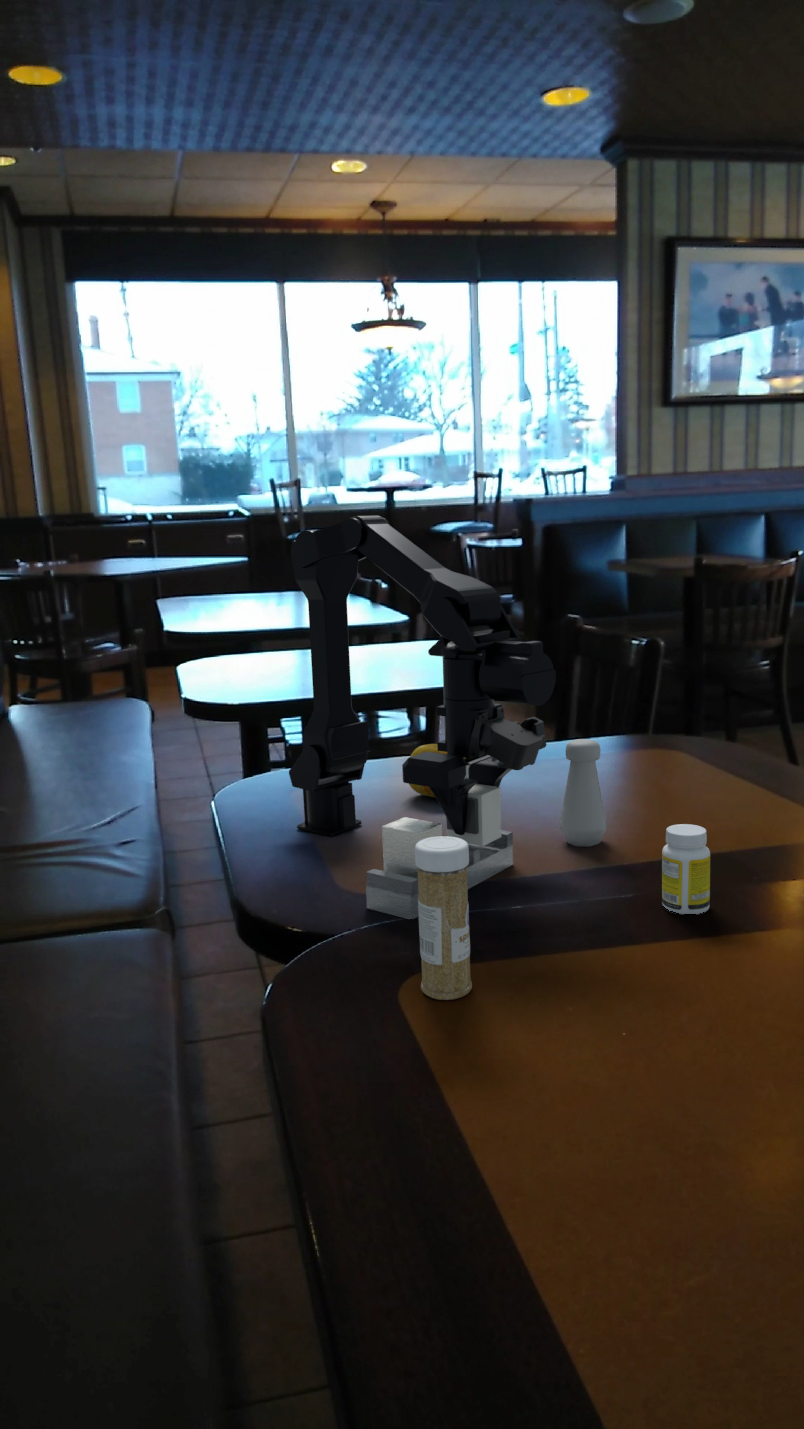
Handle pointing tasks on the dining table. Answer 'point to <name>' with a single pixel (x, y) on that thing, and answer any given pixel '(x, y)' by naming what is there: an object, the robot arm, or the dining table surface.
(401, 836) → the rail
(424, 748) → the fruit
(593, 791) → the salt shaker
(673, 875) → the supplement bottle
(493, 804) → the matte gray box
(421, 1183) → the dining table surface
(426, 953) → the spice jar
